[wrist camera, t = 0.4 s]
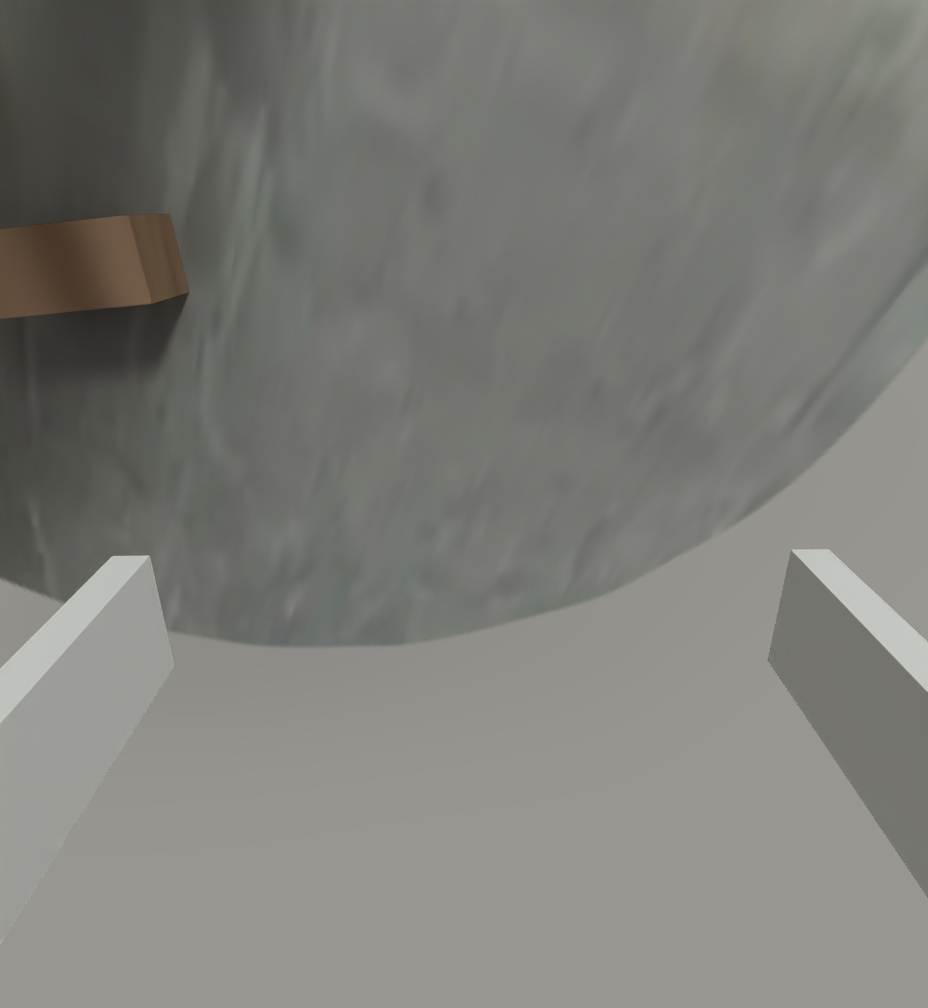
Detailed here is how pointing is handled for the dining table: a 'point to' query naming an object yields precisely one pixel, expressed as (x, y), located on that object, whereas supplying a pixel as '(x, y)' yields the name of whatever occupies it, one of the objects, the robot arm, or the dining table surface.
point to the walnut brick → (89, 265)
